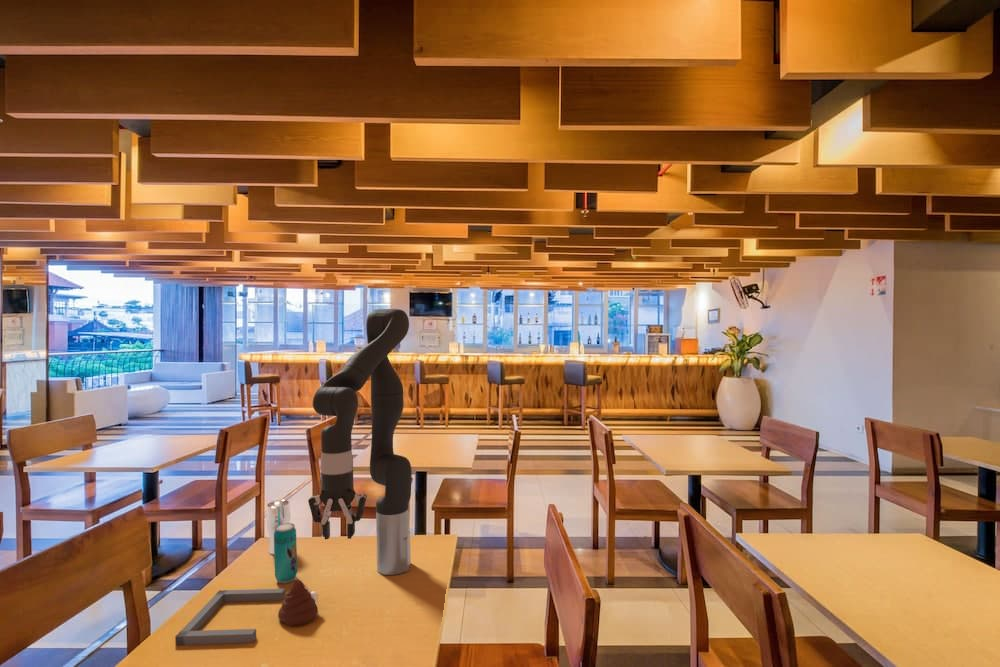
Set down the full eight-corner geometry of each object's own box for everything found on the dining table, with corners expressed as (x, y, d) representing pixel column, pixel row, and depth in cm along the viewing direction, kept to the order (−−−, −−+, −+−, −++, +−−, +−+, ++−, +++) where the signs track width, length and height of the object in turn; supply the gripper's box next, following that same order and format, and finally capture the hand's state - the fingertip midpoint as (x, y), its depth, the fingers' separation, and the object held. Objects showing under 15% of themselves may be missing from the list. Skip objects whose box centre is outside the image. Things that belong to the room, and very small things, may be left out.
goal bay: (285, 596, 140) (285, 588, 139) (252, 642, 120) (252, 634, 120) (219, 598, 139) (219, 590, 139) (175, 645, 119) (175, 636, 119)
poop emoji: (270, 620, 129) (269, 582, 128) (300, 603, 136) (299, 567, 136) (297, 632, 123) (296, 593, 123) (326, 614, 131) (325, 577, 130)
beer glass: (296, 548, 169) (295, 501, 168) (278, 557, 162) (277, 508, 162) (280, 544, 172) (278, 498, 171) (262, 553, 165) (261, 505, 165)
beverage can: (289, 585, 145) (288, 531, 145) (270, 583, 146) (269, 529, 146) (301, 575, 151) (300, 523, 150) (283, 573, 152) (281, 521, 151)
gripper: (370, 463, 133) (371, 530, 134) (312, 465, 132) (313, 532, 133) (363, 472, 125) (364, 543, 126) (302, 473, 125) (303, 545, 126)
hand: (338, 537), depth 130 cm, fingers open, 5 cm apart
